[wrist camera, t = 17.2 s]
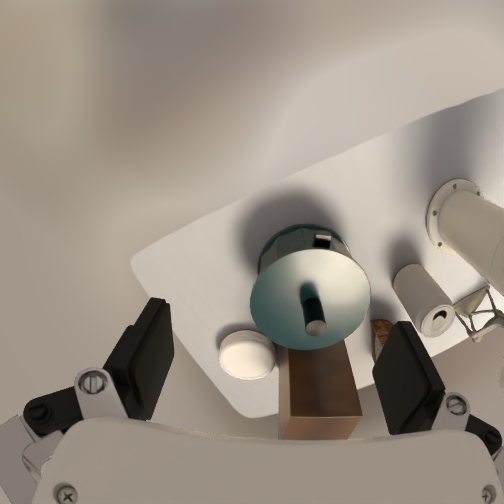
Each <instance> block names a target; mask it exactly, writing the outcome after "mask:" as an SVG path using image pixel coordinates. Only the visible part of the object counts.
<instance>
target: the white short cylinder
mask: <svg viewBox="0 0 504 504" xmlns="http://www.w3.org/2000/svg"><path fill="white" fill-rule="evenodd" d="M218 359H219V364H220V366H221V367H222V369H223V370H224V371H225V372H227V373H228V374H230V375H231V376H233V377H236V378H239V379H245V380H253V379H258V378H262V377H264V376H266V375H268V374H269V373H270V372H271V371H272V370H273V368H274V366H275V347H274V345H273V343H272V341H271V340H270V339H268V338H267V337H266V336H265V335H263V334H261V333H259V332H255V331H250V330H242V331H237V332H234V333H231V334H229V335H228V336H227V337H226V338H225V339H224V340H223V341H222V343H221V346H220V350H219V355H218Z"/></svg>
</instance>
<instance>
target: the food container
mask: <svg viewBox="0 0 504 504" xmlns="http://www.w3.org/2000/svg"><path fill="white" fill-rule="evenodd" d="M370 324H371V340H372V357H373V360H374V363H376V361H377V359H378V357H379V355H380V352H381V350H382V348H383V346H384V344H385V341H386V339H387V337H388V335H389V332H390V330H391V328H392V326H393V324H392V323H391V322H389V321H387V320H383V319H376V320H371V321H370Z"/></svg>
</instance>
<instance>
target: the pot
mask: <svg viewBox="0 0 504 504" xmlns="http://www.w3.org/2000/svg"><path fill="white" fill-rule="evenodd" d="M306 247H325V248H330V249H334V250H337V251H340V252H342V253H344V254H346V255H348V256H350V257H351V254H350V251H349V249H348V247H347V245H346V243H345V242H344V240H343V239H342V238H341V237H340V236H339V235H338V234H337V233H335V232H334V231H332V230H330V229H328V228H326V227H324V226H320V225H316V224H299V225H294V226H291V227H288V228H286V229H284V230H282V231H280V232H278V233H277V234H275V235H274V236H273V237H272V238H271V239H270V240H269V241H268V242H267V243H266V245H265V246H264V248H263V250H262V252H261V254H260V257H259V261H258V276H259V275H260V273H261V272H262V271H263V270H264V269H265V267H266V266H267V265H269V264H270V263H271V262H272V261H274V260H275V259H277V258H278V257H280V256H281V255H284V254H286V253H288V252H290V251H294V250H297V249H301V248H306ZM351 258H352V257H351ZM352 259H353V258H352Z"/></svg>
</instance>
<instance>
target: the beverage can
mask: <svg viewBox="0 0 504 504" xmlns="http://www.w3.org/2000/svg"><path fill="white" fill-rule="evenodd" d="M393 287H394V291H395V293H396V295H397V296H398V298H399V300H400V301H401V303H402V305H403V306H404V308H405V310H406V311H407V313H408V315H409V316H410V318H411V320H412V322H413V323H414V325H415V327H416V329H417V330H418V331H419V332H420V333H422V334H423V335H424V336H425V337H428V338H433V337H437V336H439V335H441V334H443V333H444V332H445V331H446V330H447V329H448V328H449V327H450V326H451V324H452V323H453V321H454V318H455V310H454V308H453V303H452V301H451V300H450V299H449V297H448V296H447V295H446V294H445V293H444V291H443V290H442V289H441V288H440V286H439V285H438V284H437V283H436V282H435V280H434V279H433V278H432V277H431V276H430V275H429V273H428V272H427V271H426V270H425V269H424V268H423V267H422V266H421V265H418V264H410V265H407V266H405V267H404V268H402V269H401V270H400V271H399V272H398V274H397V275H396V277H395V279H394V283H393Z"/></svg>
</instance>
